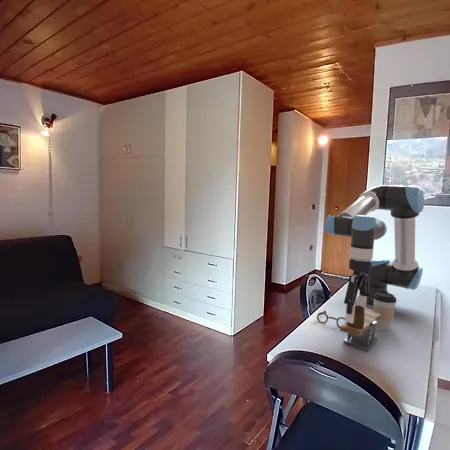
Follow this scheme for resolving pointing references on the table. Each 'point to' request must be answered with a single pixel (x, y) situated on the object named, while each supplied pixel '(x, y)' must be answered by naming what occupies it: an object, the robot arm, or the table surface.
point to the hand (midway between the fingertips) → (355, 317)
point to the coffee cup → (384, 309)
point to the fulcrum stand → (363, 339)
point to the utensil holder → (358, 317)
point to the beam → (369, 319)
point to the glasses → (328, 317)
